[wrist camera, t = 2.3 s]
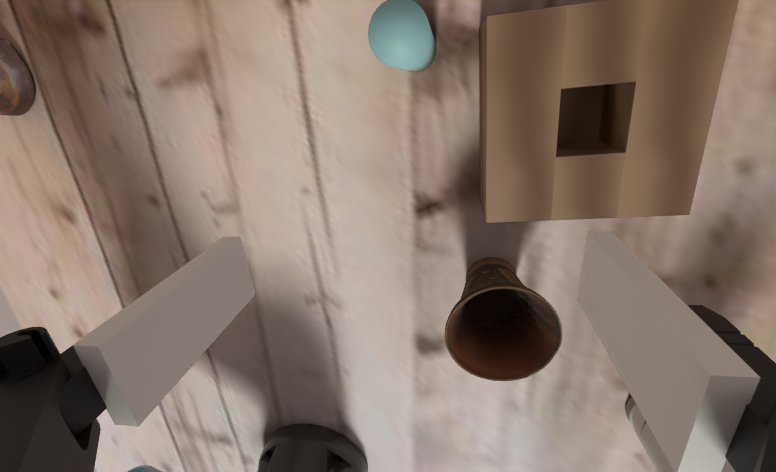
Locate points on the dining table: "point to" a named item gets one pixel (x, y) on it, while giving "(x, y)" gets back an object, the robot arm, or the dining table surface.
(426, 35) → the dowel
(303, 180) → the dining table surface
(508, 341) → the cup
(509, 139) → the socket block
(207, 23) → the dining table surface
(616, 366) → the robot arm
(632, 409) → the travel mug
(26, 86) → the mortar and pestle
